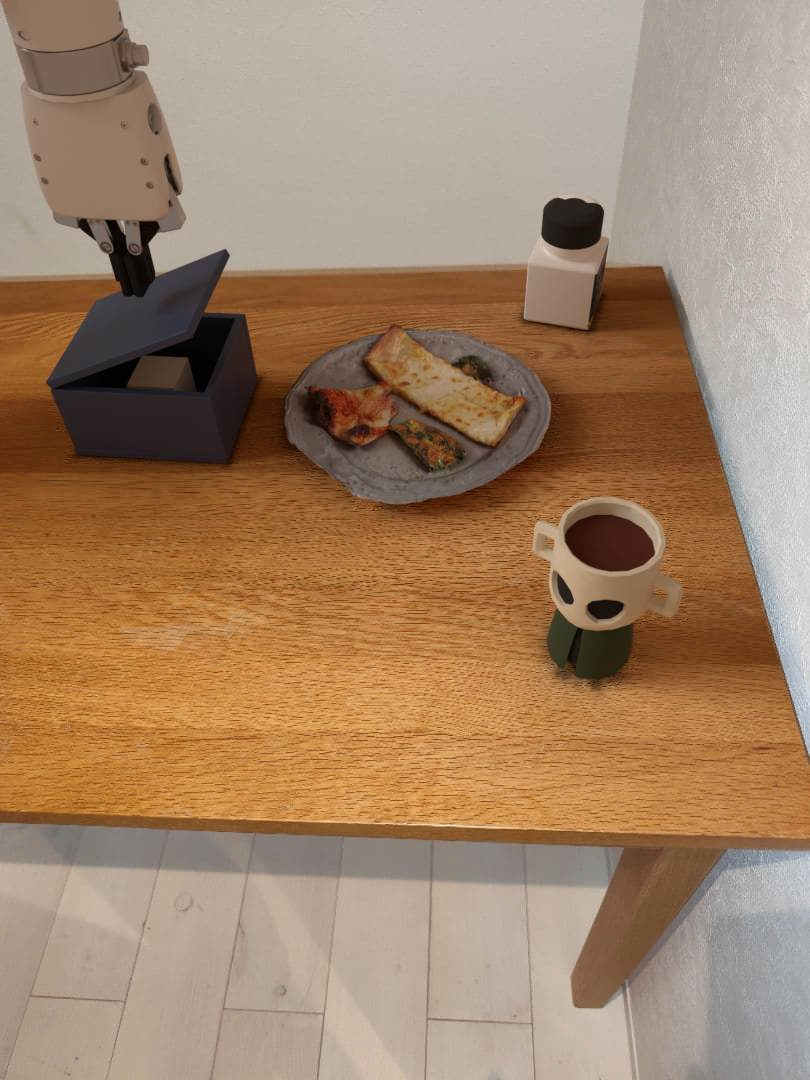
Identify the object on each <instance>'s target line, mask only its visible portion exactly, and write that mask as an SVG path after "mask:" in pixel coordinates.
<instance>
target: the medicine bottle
mask: <svg viewBox="0 0 810 1080" xmlns="http://www.w3.org/2000/svg"><path fill="white" fill-rule="evenodd" d="M604 218H605V209H604V207H603V206H602V204H601V203H600V202H598V201H597V200H596V199H594V198H592V197H590V196H586V195H581V194H563V195H559V196H555V197H554V198H552V199H550V200H549V201H548V202H547V203H546V204H545V205H544V207H543V208H542V219H541V220H542V221H541V231H540V235H539V238H538V239H537V242H536V244H535V246H534V248H533V250H532V253H531V255H530V257H529V260H528V261H527V269H526V270H527V271H526V282H525V296H524V309H523V319H524V320H525V321H528V322H535V323H541V324H547V325H553V326H560V327H565V328H572V329H577V330H584V331H588V330H589V329H590V328H591V325H592V322H593V320H594V316H595V313H596V310H597V307H598V304H599V301H600V298H601V296H602V290H603V283H604V277H605V270H606V269H605V268H606V263H607V257H608V250H609V243H610V239H609V237H607V236H604V235H603V236H602V232H603V226H604Z"/></svg>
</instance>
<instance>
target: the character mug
mask: <svg viewBox="0 0 810 1080" xmlns="http://www.w3.org/2000/svg"><path fill="white" fill-rule="evenodd" d="M532 536H533V538H532V547H531V549H532V553H533V554H534V555H535V556H536V557H538V558H540V559H542V560H544V561H547V562H548V563H550V567H549V568H550V569H549V574H548V575H549V576H548V587H549V592H550V597H551V600H552V601H553V603H554V604H555V607H556V609H555V612H554V615H553V617H552V620H551V623H550V625H549V629H548V632H547V637H546V643H547V649H548V650H547V651H548V654H549V656H550V658H551V659H552V660H553V661H554V663H555V664H556V666H557V667H558V668H559V669H561V670H562V671H565V667H566V664H567V661H569V663H571V664H572V665H575V670H574V671H575V672H574V677H576V678H577V679H583V680H594V681H599V680H602V679H605V678H608V677H612V676H615V675H616V674H617V673H618V672H620V670H621V669H622V668H624V666H626V664H627V663H628V662H629V659H630V655H631V651H632V648H633V638H634V622H635V621H636V620H637V619H638V618H640V617H641V616H642V615H643V614H645V612H646V611H647V610H650V611H652V612H654V613H656V614H658V615H661V616H663V617H666V618H672V617H674V616H675V615H677V613H678V610H679V607H680V604H681V601H682V598H683V595H684V588H683V584H682V583H681V582H680V581H678V580H676V579H674V578H672V577H669V576H667V575H665V574H663V573H661V572H660V570H661V565H662V562H663V559H664V555H665V551H666V549H667V547H666V546H667V540H666V536H665V531H664V527H663V525H662V524H661V522H659V520H658V519H657V518H656V516H655V515H654V514H653V513H652V512H651V511H649V510H648V509H646V508H645V507H643V506H641V505H639V504H638V503H637V502H634V501H631V500H627V499H623V498H619V497H616V496H601V497H600V496H599V497H598V496H596V497H591V498H588V499H585V500H582V501H579V502H575V503H574V504H573V505H572V506H571V507H570V508H568V509H567V510H566V511H564V512H563V513H562V515H561V517H560V520H559V523H558V525H555V524H553V523H551V522H549V521H547V520H538V521H536V523H535V525H534V529H533V535H532ZM547 539H549V540H551V541H553V547H551V546H549V545H548V544H547ZM655 588H656V589H658V590H659V591H662V592H664V593H665V594H666V596H665V599H663V598H660V597H659V596H656V595H654V591H655Z"/></svg>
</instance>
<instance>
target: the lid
mask: <svg viewBox="0 0 810 1080" xmlns="http://www.w3.org/2000/svg"><path fill="white" fill-rule="evenodd" d="M230 257H231V255H230V253H229V251H228V250H227V248H223V249H221V250H219V251H216V252H214V253H211V254H208V255H206V256H203V257H201V258H199V259H196V260H193V261H191V262H188V263H185V264H183V265H181V266H179V267H176V268H174V269H171V270H168V271H166V272H164V273H161V274H159V275H155V280H154V281H153V283H151V284H150V286H149V288H148V290H147V291H146V293H145V295H144V297H143V298H142V297H136V296H135V295H132V296H131V297H125V296H124V295H123V292H122V289H121V290H119V291H117V292H114V293H111V294H109V295H106V296H104V297H101V298H98V299H96V300H95V301H94V302H93V304H92V305H91V307H90V309H89V310H88V312H87V314H86V316H85V317H84V319H83V321H82V322H81V324H80V325H79V327H78V329H77V330H76V332H75V333H74V335H73V336H72V338H71V340H70V341H69V343H68V345H67V346H66V348H65V350H64V352H63V354H62V355H61V357H60V358H59V360H58V361H57V363H56V365H55V366H54V368H53V369H52V371H51V373H50V374H49V375H48V378H47V379H46V381H45V383H46V385H47V386H48V387H49V388H50V390H51V389H52V388H55V387H58V386H61V385H63V384H66V383H69V382H72V381H75V380H77V379H80V378H83V377H86V376H88V375H91V374H94V373H97V372H100V371H102V370H105V369H108V368H111V367H113V366H116V365H119V364H122V363H124V362H127V361H130V360H133V359H136V358H138V357H141V356H144V355H147V354H149V353H152V352H155V351H158V350H161V349H163V348H166V347H169V346H172V345H174V344H177V343H180V342H183V341H186V340H188V339H191V338H192V337H193V335H194V333H195V331H196V328H197V326H198V324H199V322H200V320H201V318H202V315H203V313H204V312H206V309H207V307H208V305H209V303H210V300H211V298H212V296H213V294H214V292H215V289H216V287H217V285H218V284H219V281H220V279H221V277H222V274H223V272H224V270H225V268H226V266H227V263H228V261H229V259H230Z"/></svg>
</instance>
